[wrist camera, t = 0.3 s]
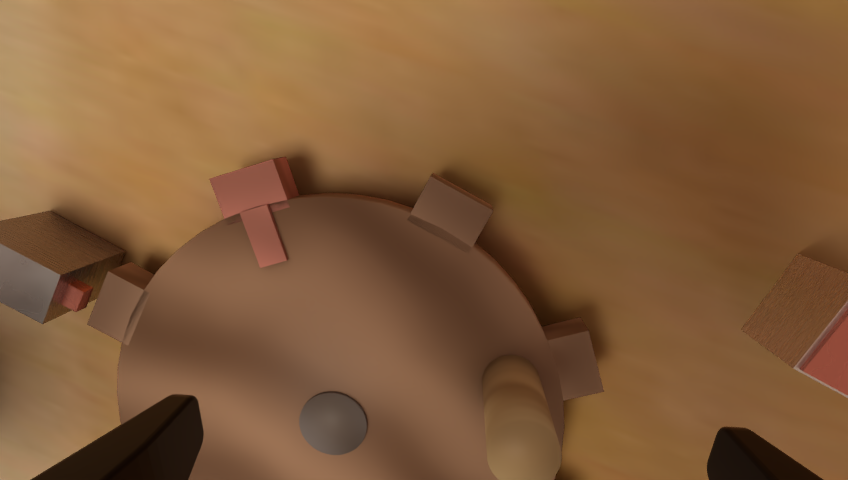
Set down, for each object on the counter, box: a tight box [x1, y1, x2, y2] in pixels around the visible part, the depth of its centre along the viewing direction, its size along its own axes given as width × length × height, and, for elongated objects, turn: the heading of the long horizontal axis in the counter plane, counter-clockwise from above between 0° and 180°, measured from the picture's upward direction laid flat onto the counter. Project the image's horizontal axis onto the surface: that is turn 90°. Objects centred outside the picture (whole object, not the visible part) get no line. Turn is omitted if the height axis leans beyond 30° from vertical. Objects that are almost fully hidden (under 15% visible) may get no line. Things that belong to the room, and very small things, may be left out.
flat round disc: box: [87, 157, 604, 480], centre depth 21 cm, size 23×23×6 cm
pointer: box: [0, 211, 126, 324], centre depth 22 cm, size 2×5×4 cm, turn 62°
